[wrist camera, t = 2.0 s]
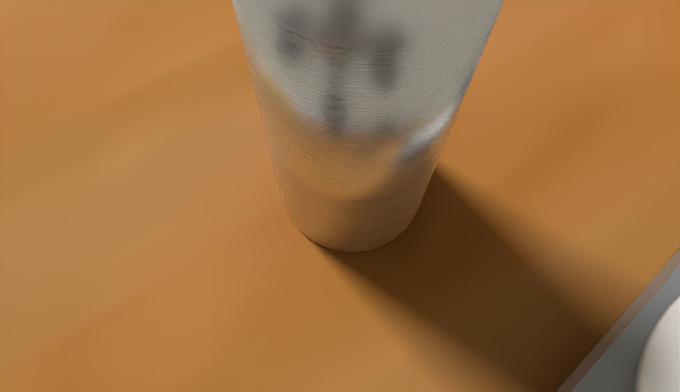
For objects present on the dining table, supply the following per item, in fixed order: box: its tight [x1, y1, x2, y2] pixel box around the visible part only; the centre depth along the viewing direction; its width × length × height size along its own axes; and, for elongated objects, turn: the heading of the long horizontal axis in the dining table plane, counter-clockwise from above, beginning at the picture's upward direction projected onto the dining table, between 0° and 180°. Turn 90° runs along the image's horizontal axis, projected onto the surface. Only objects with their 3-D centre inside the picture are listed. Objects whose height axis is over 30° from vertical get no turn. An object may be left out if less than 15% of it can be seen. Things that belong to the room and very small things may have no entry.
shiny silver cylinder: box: [232, 0, 504, 252], centre depth 16 cm, size 5×5×13 cm
